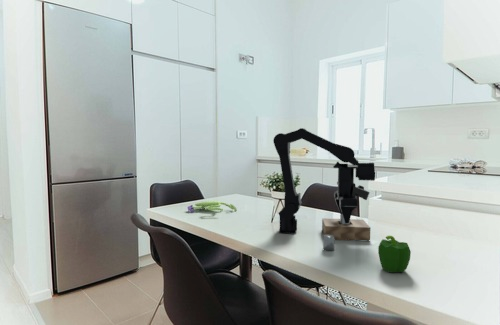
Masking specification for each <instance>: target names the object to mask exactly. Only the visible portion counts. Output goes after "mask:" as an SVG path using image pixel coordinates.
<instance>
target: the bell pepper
mask: <svg viewBox="0 0 500 325" xmlns="http://www.w3.org/2000/svg"><path fill="white" fill-rule="evenodd" d="M377 247H378V248H377V249H378V251H377V252H378V253H377V254H378V258H379V262H380V266H381V267H382V269H383V270H384V271H386V272H387V273H388V272H389V273H397V272H398V273H404V272H405V271H406V270H407V269H408V265H409V263H410V260H411V252H412V250H411V249H410V246H409V245H408V242H404V241H403V242H401V241H398V240H396V239H395V237H394V236H393V235H387V236H385V238H384V239H383V238H382V240H381V241H380V243H379V245H378V246H377Z"/></svg>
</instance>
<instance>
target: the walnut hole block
mask: <svg viewBox="0 0 500 325" xmlns="http://www.w3.org/2000/svg"><path fill="white" fill-rule="evenodd" d="M321 223H322V225H321V231H322V234H323V236H324V235H333V236H334V239H335V240H334V241H353V240H370V241H371V226H370V225H369V224H368V223H367V222H366V221H365V219H356V218H355V219H354V218H353V219H352V218H350V225H349V224H340V218H321Z"/></svg>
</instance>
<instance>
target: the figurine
mask: <svg viewBox="0 0 500 325" xmlns="http://www.w3.org/2000/svg"><path fill="white" fill-rule="evenodd" d="M221 205H224V206H225V207H228V208H230V209H231V210H234V212H237V211H238V210H237V208H236V207H235V205H233V203H230V204H228V203H226V202H224V201H218V200H217V201H216V200H208V201H201V202H197V203H195V204H194V206H193V204H191V205H189V206H187V210H188V212H189V213H191V214H193V213H195V209H196V210H197V209H198V210H203V211H205V210H208V211H220V212H223V211H224V209H223V208H221Z"/></svg>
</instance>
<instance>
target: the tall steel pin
mask: <svg viewBox="0 0 500 325" xmlns="http://www.w3.org/2000/svg"><path fill="white" fill-rule="evenodd" d="M339 216H340V218H339V219H340V224H349V225H350V220H349V223H345V220H344V217H343V214H340V215H339Z"/></svg>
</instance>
